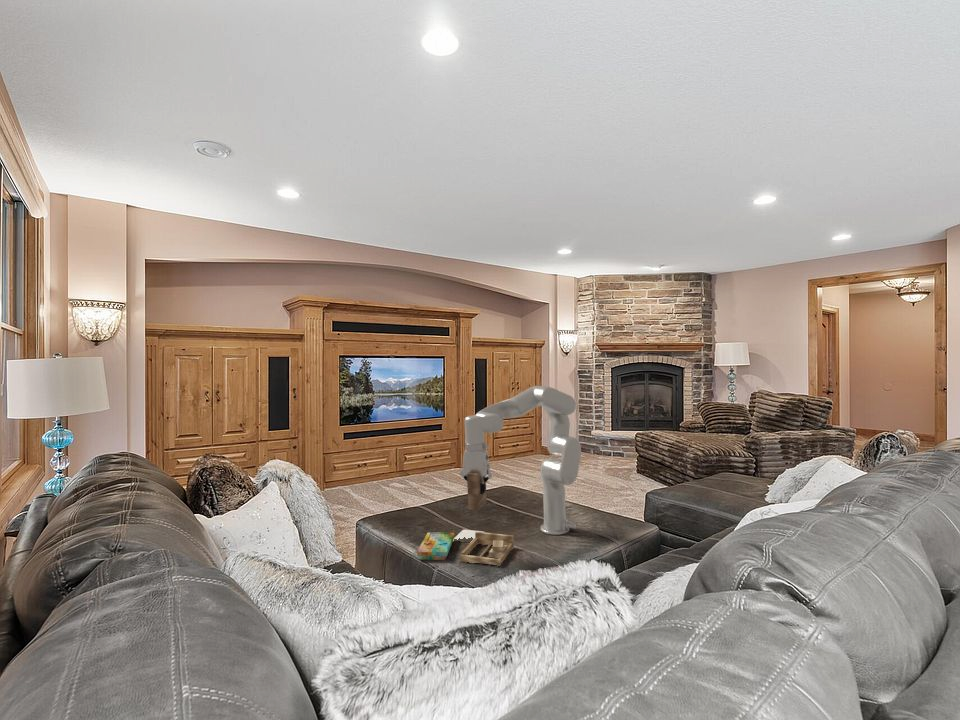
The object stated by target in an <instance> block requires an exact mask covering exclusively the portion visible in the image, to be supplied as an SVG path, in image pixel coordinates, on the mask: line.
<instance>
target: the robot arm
mask: <svg viewBox="0 0 960 720" xmlns="http://www.w3.org/2000/svg"><path fill="white" fill-rule="evenodd" d="M537 407H542V408H543V409H544V410H545V412H546V413H547V415H548V417H549V420H550V425H549V434H548V440H547V451H548V453H549V454H551V455H553V456H556V457H560V458H561V459H558V458H554V457H549V458H546V459H544V460H542V462H541V464H540V476H541V477H540V478H541V481H542V489H543V490H542V493H543V494H542V495H543V496H542V497H543V498H542V500H543V501H542V503H543V524H541V525H540V531H541V532H543V533H544V534H547V535H555V536H557V535H564V534H567V533H569V532H570V529H576V528H577V527H576V526H577V525H576V523H575V522H573V521H572V522H571V521H568V518H566V489H565V485H566V486H569V485H572V484H574V483H575V482H576V479H577V477H578V474H579V469H580V468H579V467H580V461H581V456H582V446H581V442H580V441H579V440H578V438H576V437H573V436H570V427H571V421H570V417H569V416H570V415H572V414H573V413H574V412H575V410H576V409H577V403H576V400H575V398H574V397H573V396H571V395H570V394H568V393H565V392H563V391H560V390H558V389H556V388H553V387H551V386H546V385H545V386H543V385H533V386H530V387H529V388H526V389H525V390H523V391H521V392H520V393H518V394H516V395H515V396H513V397H511V398H508V399H504V400H502V401H499V402H496V403H493V404H491V405H488V406H486V407H484V408H483V409H481V410H479V411H478V412H476V414H474V415H467V416H465V418H464V423H463V424H464V437H465V438H464V440H465V441H464V442H465V450H463V459H462V469H461V471H460V472H459V475H460V477H462V478H463V479H464V480H465V481H466V482H467V474H468V473H469V472H476V473H479V476H480V479H481V484H480V491H481V494H483V493H484V492H485V491H486V492H487V485H486V486H485V483H486V484H487V482H488V480H490V479H491V478H493V477H494V474H493V472H492V470H491V466H490V460H489V453H488V450H487V449H488V448H489V445H488V444H486V442H485V434H488V433H490V434H495V433H499V432H501V431H502V429H503V428H504V424H505V422H504V420H506V419H516V418H521V417H522V416H524V415H526V414H527V413H529V412H530V411H532V410H535V409H536V408H537ZM485 476H486V477H485Z"/></svg>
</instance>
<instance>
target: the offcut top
mask: <svg viewBox="0 0 960 720" xmlns="http://www.w3.org/2000/svg"><path fill="white" fill-rule="evenodd" d="M491 549H492V551H493V552H503V540H493V546H491Z"/></svg>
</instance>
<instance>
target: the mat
mask: <svg viewBox="0 0 960 720" xmlns="http://www.w3.org/2000/svg"><path fill="white" fill-rule="evenodd" d="M475 532H484V531H482V530H472V529H471V530H470V529H462V530H461V531H460V532H459V533H458V534H457V535H455V537H454V539H457V540H458V539H459V538H460V539H463V538H464V537H465V538H466V539H468V538H471V537H472V538H473V539H474V538H475ZM454 539H453V542H454Z"/></svg>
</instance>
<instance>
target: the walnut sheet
mask: <svg viewBox="0 0 960 720" xmlns="http://www.w3.org/2000/svg"><path fill="white" fill-rule="evenodd" d="M485 477H487V475H486V476H485ZM466 483H467V486H466V487H467V502H468V503H467V507H468V510H471V511H479V510H480V509H481V508H482V507H483V506H484V505H486V503H487V490H486V491H485V492H484V493H483V494H481V491H480V484H481V479H480V476H479V473H476V472H469V473H468V474H467V481H466ZM485 486H486V487H487V482H486V483H485Z"/></svg>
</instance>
